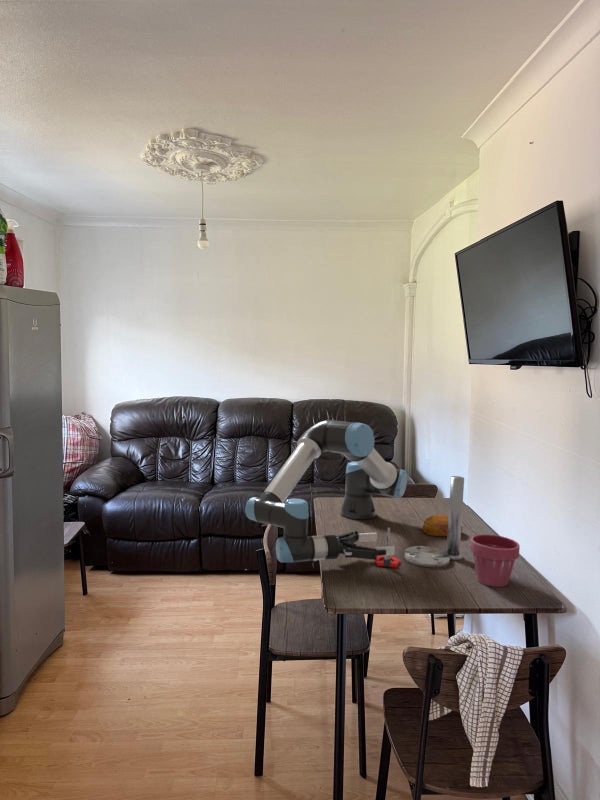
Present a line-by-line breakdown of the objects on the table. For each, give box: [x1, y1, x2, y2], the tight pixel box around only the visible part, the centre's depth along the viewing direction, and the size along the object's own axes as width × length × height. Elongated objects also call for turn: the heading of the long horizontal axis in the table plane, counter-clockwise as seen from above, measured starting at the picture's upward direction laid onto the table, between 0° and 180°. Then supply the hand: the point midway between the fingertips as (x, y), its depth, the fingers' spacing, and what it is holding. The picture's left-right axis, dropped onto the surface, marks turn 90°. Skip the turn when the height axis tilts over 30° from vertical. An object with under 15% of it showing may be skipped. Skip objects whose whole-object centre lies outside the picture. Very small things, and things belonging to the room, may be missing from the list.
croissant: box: [422, 514, 463, 537], centre depth 222 cm, size 14×16×8 cm
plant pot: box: [469, 533, 521, 588], centre depth 175 cm, size 14×14×13 cm
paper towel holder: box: [404, 475, 465, 569], centre depth 192 cm, size 15×21×28 cm
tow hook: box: [373, 527, 401, 569], centre depth 187 cm, size 8×13×9 cm
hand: (385, 543), depth 186 cm, fingers open, 13 cm apart
